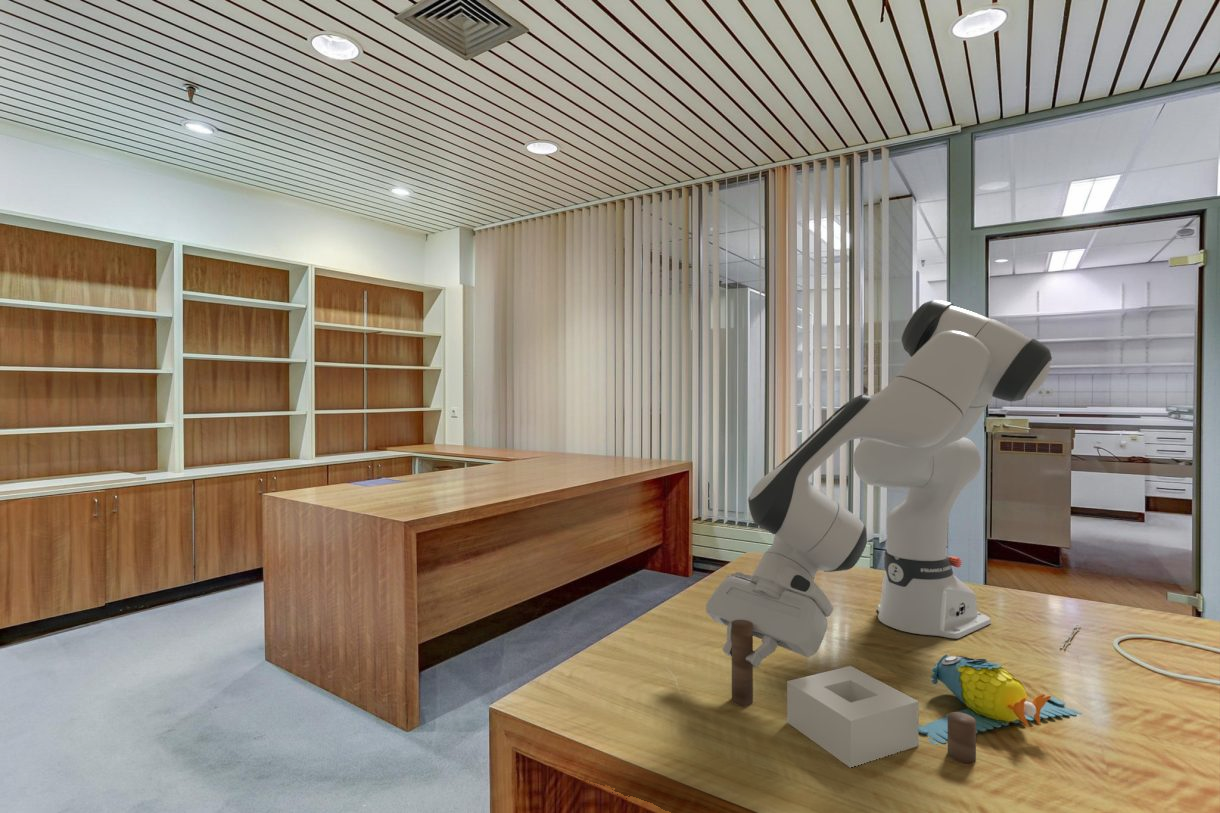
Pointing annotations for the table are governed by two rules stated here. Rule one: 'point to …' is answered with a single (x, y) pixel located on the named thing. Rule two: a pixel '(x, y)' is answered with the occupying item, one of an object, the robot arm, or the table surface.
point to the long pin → (742, 662)
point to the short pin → (962, 737)
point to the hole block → (853, 715)
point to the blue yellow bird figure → (988, 696)
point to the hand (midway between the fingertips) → (739, 659)
